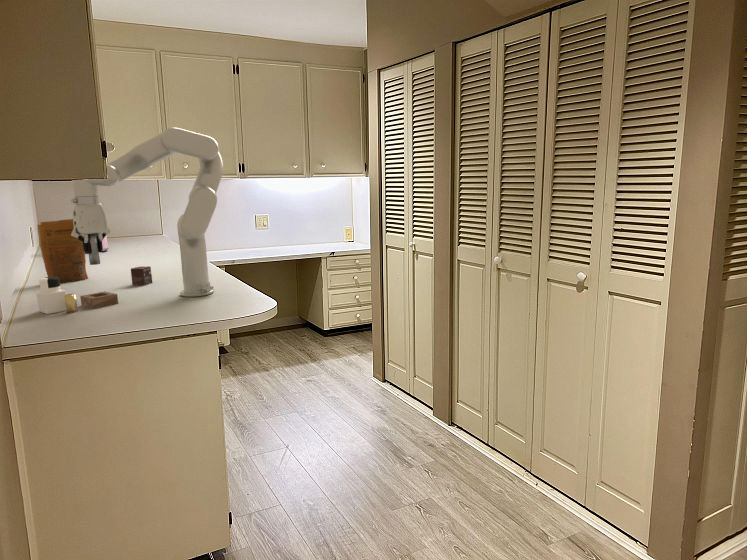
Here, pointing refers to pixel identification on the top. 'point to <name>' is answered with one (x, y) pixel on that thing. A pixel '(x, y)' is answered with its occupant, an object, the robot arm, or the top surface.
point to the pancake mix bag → (62, 251)
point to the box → (141, 275)
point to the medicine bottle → (51, 296)
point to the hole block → (99, 299)
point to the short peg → (71, 303)
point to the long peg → (93, 249)
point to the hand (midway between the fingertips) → (93, 252)
